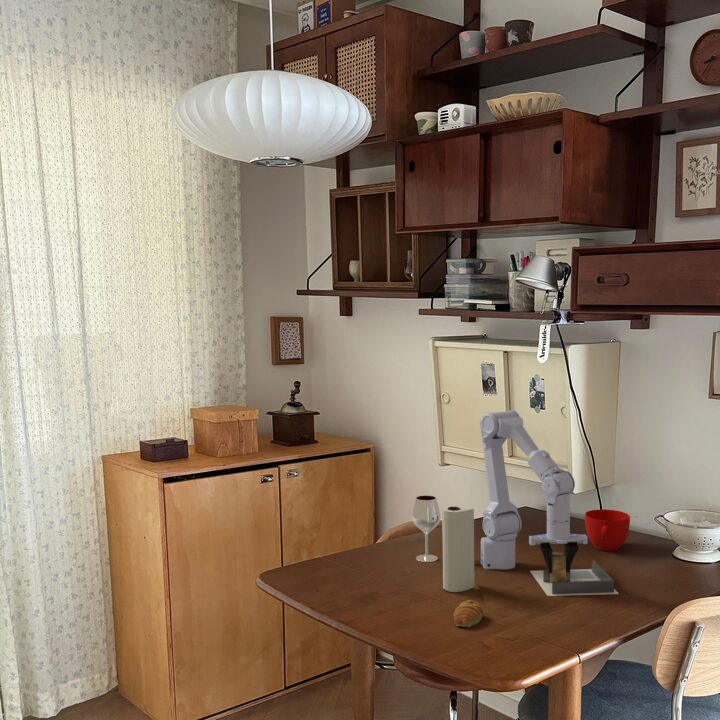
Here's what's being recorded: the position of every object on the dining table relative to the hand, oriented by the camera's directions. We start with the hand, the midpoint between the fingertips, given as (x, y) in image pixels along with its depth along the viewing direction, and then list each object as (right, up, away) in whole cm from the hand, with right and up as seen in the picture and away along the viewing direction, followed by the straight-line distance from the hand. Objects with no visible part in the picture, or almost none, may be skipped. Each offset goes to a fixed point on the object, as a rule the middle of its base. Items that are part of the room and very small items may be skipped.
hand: (558, 571), depth 208 cm
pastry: (-25, -8, -17) cm, 31 cm away
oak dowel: (0, -3, 0) cm, 3 cm away
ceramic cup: (+22, -2, +33) cm, 40 cm away
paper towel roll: (-26, -6, +3) cm, 26 cm away
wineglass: (-31, -4, +28) cm, 42 cm away
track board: (+5, -5, +4) cm, 8 cm away
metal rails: (+5, -4, +4) cm, 7 cm away
